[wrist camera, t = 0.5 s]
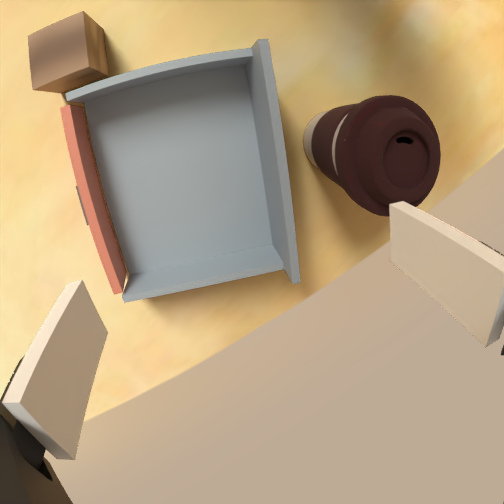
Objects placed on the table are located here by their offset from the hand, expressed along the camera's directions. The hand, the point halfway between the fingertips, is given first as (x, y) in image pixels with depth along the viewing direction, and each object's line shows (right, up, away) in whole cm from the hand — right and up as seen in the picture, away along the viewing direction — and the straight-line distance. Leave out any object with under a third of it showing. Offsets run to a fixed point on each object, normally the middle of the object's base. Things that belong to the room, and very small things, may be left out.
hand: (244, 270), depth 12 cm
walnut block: (-18, +21, +13) cm, 31 cm away
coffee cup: (+9, +14, +22) cm, 27 cm away
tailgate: (-16, +7, +19) cm, 26 cm away
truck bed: (-7, +9, +21) cm, 24 cm away
